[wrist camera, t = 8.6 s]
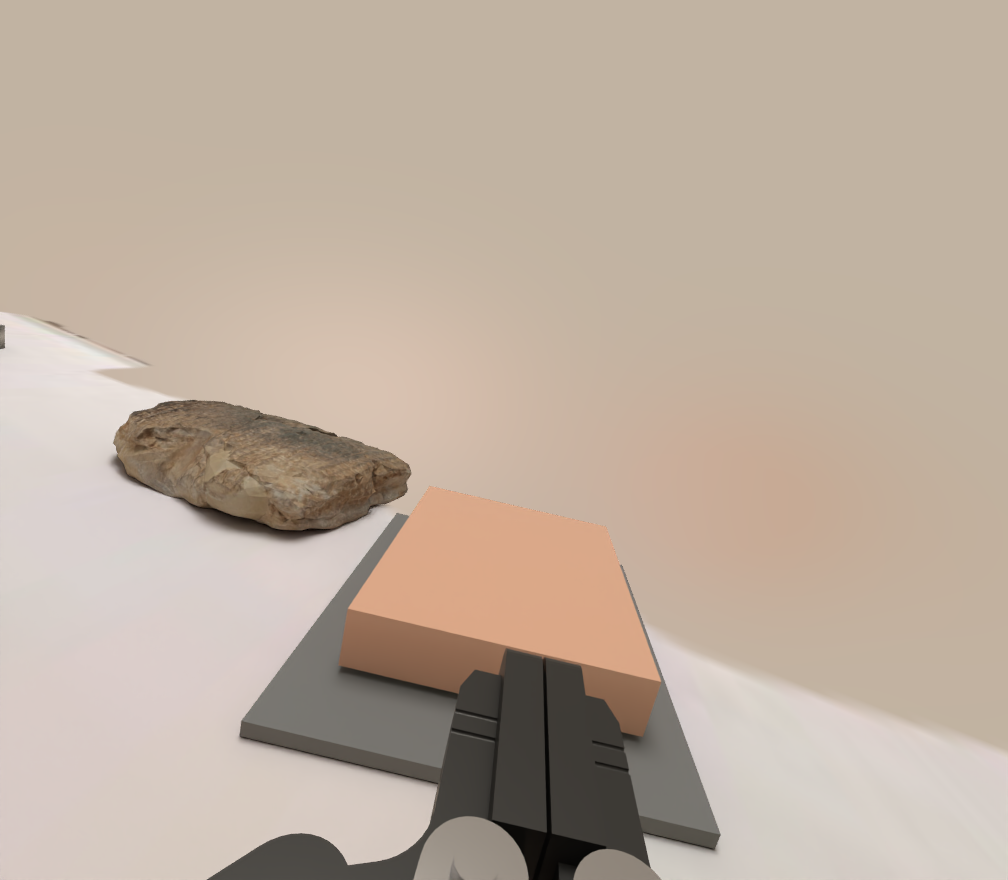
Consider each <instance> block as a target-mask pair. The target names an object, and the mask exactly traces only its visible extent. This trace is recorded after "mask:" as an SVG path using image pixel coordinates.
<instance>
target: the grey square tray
mask: <svg viewBox="0 0 1008 880" xmlns="http://www.w3.org/2000/svg"><path fill="white" fill-rule="evenodd" d="M2 348H5V325H0V349H2Z"/></svg>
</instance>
